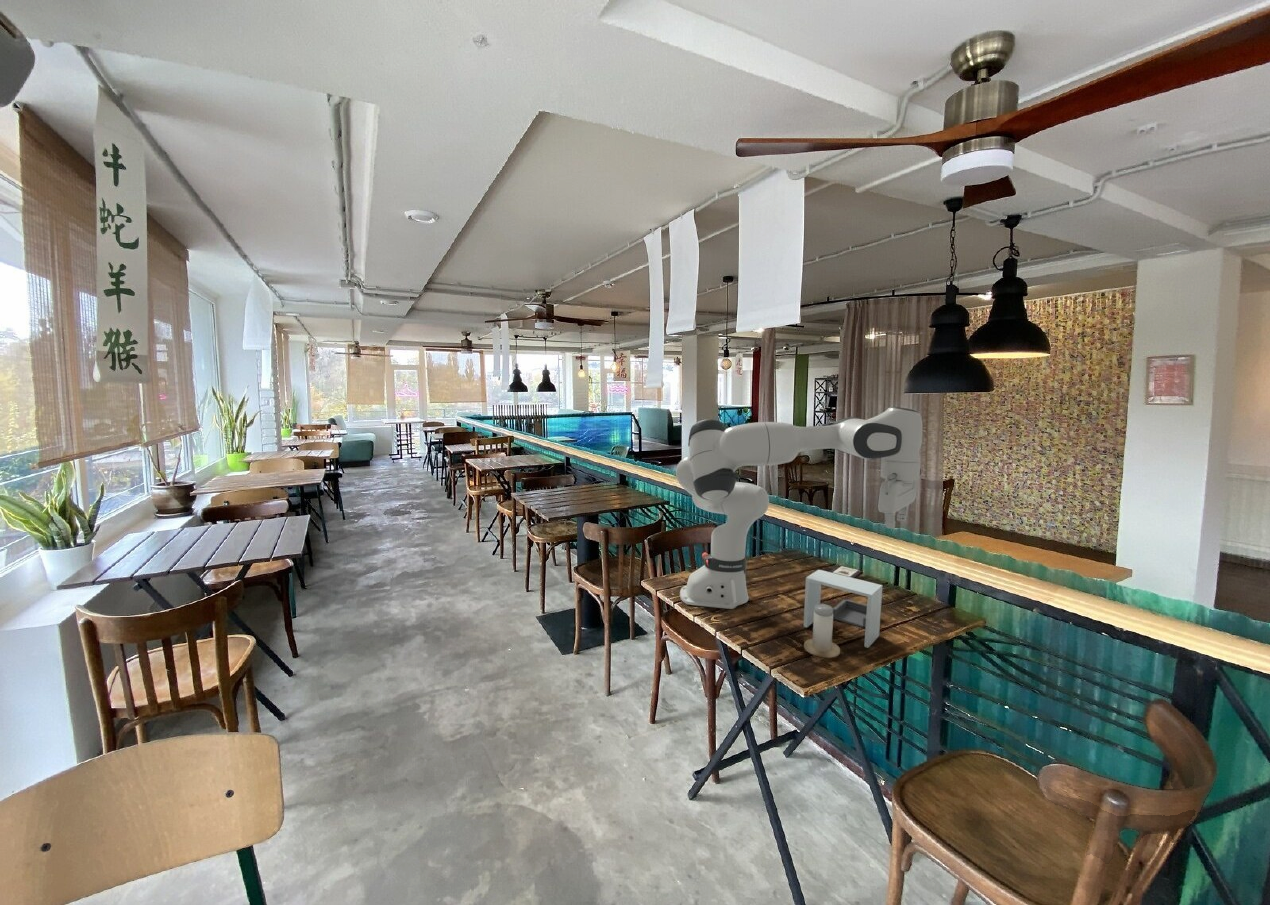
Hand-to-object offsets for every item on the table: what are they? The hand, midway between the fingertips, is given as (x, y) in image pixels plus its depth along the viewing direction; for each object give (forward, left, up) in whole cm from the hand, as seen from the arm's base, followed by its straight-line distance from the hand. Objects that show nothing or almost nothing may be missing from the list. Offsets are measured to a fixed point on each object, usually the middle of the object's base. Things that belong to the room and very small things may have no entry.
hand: (895, 524), depth 131 cm
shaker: (-17, -1, -34) cm, 38 cm away
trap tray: (-1, +18, -34) cm, 39 cm away
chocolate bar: (+7, +54, -35) cm, 64 cm away
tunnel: (-9, +10, -34) cm, 37 cm away
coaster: (-17, -1, -34) cm, 38 cm away
